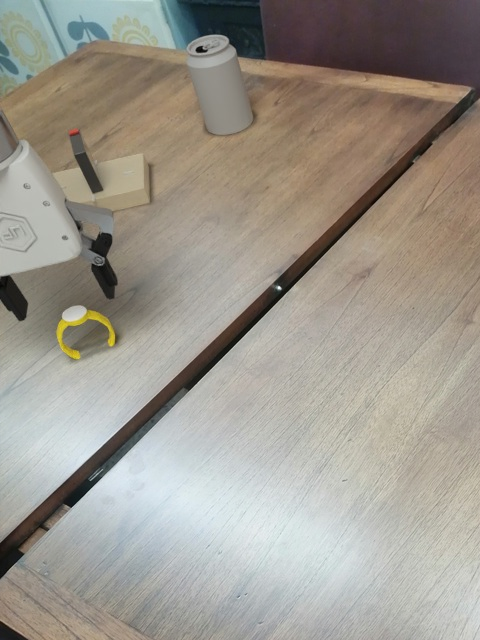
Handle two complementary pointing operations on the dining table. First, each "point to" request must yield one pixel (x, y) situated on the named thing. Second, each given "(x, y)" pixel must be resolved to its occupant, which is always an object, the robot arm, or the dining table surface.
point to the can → (219, 85)
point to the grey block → (85, 160)
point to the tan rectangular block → (110, 183)
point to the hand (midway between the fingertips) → (68, 302)
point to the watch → (77, 317)
